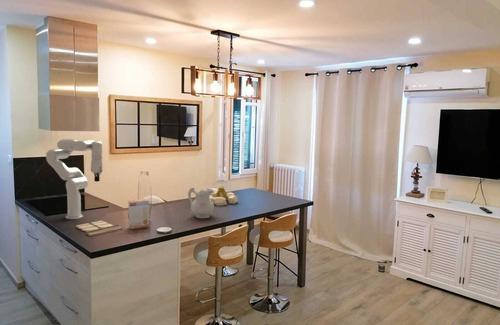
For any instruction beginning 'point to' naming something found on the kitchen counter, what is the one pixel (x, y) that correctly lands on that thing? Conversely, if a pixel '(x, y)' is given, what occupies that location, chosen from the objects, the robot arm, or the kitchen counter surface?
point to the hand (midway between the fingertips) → (97, 181)
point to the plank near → (87, 227)
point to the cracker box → (138, 214)
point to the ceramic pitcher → (201, 203)
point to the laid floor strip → (103, 230)
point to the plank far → (101, 224)
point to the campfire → (223, 197)
